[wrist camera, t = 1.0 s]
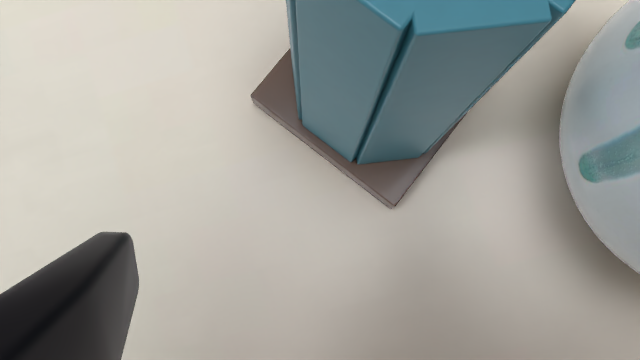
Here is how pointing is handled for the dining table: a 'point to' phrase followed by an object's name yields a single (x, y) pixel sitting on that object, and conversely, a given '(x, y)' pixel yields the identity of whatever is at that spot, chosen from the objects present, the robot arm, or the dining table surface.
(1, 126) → the dining table surface
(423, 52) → the tube
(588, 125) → the vase
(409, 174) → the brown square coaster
